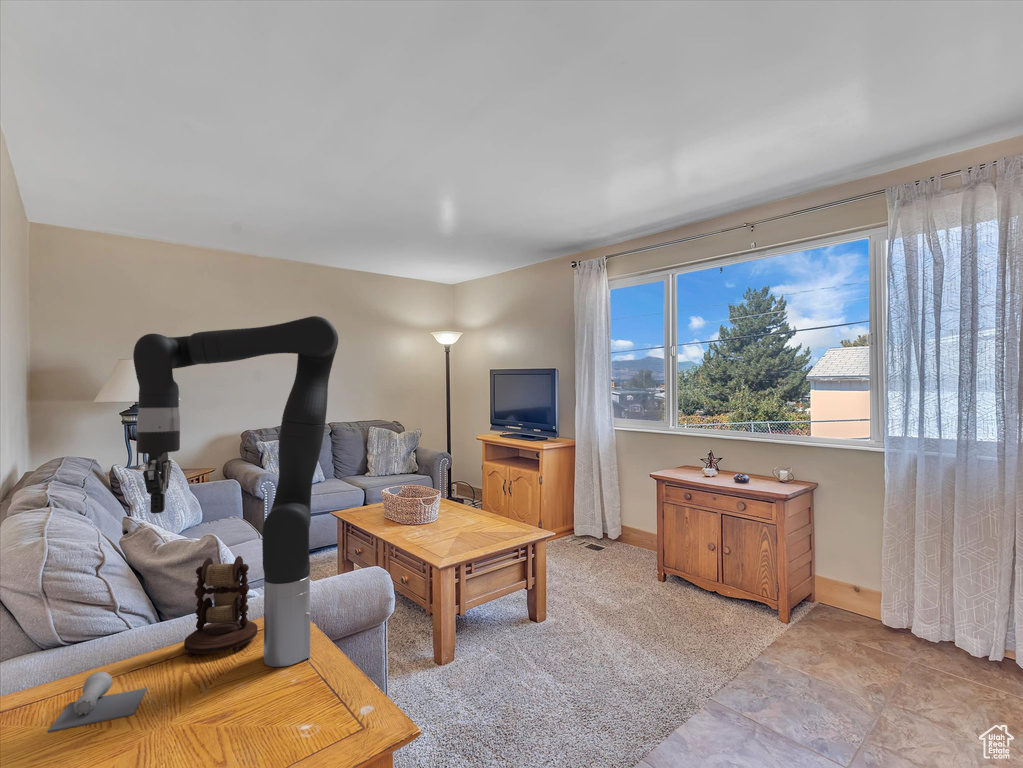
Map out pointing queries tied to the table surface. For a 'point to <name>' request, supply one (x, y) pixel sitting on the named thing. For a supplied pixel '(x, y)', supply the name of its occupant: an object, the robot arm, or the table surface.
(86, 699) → the rook chess piece
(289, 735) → the table surface
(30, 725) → the table surface
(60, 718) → the felt mat
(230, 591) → the wooden spool holder
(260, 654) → the table surface
